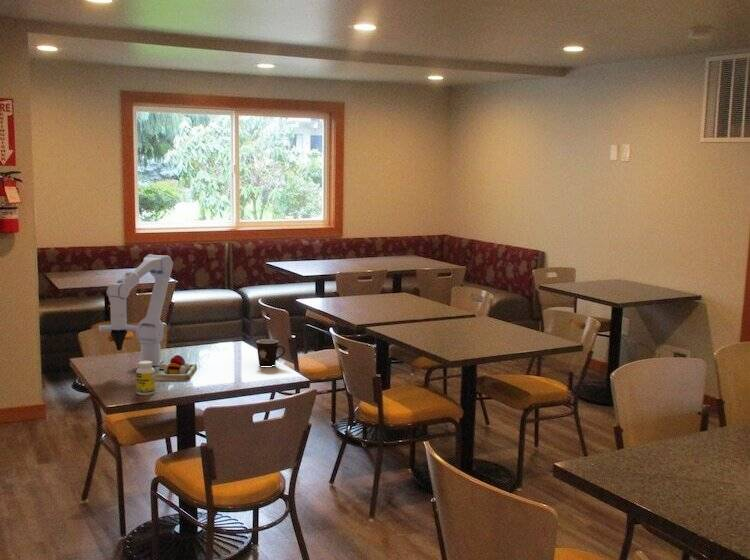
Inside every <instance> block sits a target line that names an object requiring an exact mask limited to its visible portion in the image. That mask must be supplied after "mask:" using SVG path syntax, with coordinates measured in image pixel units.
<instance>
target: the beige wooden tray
mask: <svg viewBox="0 0 750 560" xmlns="http://www.w3.org/2000/svg"><path fill="white" fill-rule="evenodd" d="M188 364H189V365H190V370H189V371H188V372H187V373H186V374H179V373H178V374H165V373H163V374H160V373H157V374H156V373H155V381H182V380H189V381H190V379H191V378H192V377H193V375H194V374H195V372H196V371H197V365H198V364H197V363H188ZM166 365H169V363H161V364H159V366H158V369H159V371H161V370H160V369H164V367H165V366H166ZM191 376H192V377H191Z"/></svg>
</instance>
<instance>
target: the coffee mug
mask: <svg viewBox="0 0 750 560" xmlns="http://www.w3.org/2000/svg"><path fill="white" fill-rule="evenodd" d="M256 347H257V357H258V364H259V365H260V366H272V365H275V366H276V365H277V360H279V358H281V357H283V356H284V355H285V353H286V349H285V347H284V346H282V345H279V340H277V339H270V338H266V339H265V338H264V339H263V338H262V339H258V340H256ZM279 348H281V349H282V350H283V353H282V354H280V355H279V356H278V357H277V354H278V349H279ZM260 366H259V367H260Z"/></svg>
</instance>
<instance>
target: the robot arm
mask: <svg viewBox="0 0 750 560" xmlns="http://www.w3.org/2000/svg"><path fill="white" fill-rule="evenodd" d="M173 266H174V262H173V259H172V258H171V256H170V255H159V254H158V255H157V254H152V253H150V254H147V255H146V256H145V257H143V261H142V262H141V263H140V265H138V266H137V267H135V270H133V271H126V272H125V274H124V275H123V276H122V277H121V278H119V279H117V281H116V282H111V283H110V284H108V286H107V289H106V296H107V297H108V301H109V303H110V304H109V305H110V324H104V325H103V324H100V325H98V332H110V336H111V337H112V339H113V341H114V344H115V347H116V351H122V349H123V345H124V341H125V339H126V335H127V334H128V332H135V336H136V339H137V340H138V342H139V343H140V361H152V367H155V366H156V367H159V364H163V362H164V359H162V357H161V355H162V353H161V350H162V349H161V347H162V346H161V344H160V343H162V340H163V339H164V336H165V332H164V331H165V330H164V329H165V324H164V323H163V321H162V320H161V316H162V312H163V308H164V303H165V300H166V296H167V291H168V286H169V283H170V280H171V279H170V278H171V276H172V271H173ZM148 273H149V274H150V275H151V276H152V277H153V278H154V283H153V288H152V291H151V294H150V300H149V305H148V308H147V313H146V316H145V317H144V318H143V319H141V320H140V321H139V325H137V324H136V325H133V324H132V325H131V324H127V323H128V320H127V318H128V316H127V310H128V309H127V298H128V297H129V296H130V293H131V291H132V290H133V289H134V288H135V287H136V286H137V285H138V284H140V278H142V277H144V276H145V275H146V274H148Z"/></svg>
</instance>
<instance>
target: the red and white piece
mask: <svg viewBox="0 0 750 560" xmlns="http://www.w3.org/2000/svg"><path fill="white" fill-rule="evenodd" d="M168 364H169V365H166V366H165V367H164V370H163V374H187V372H188V371H189V370H190V365H189V364H190V363H188V362H186V360H185V359H184V358H183V356H181V355H179V354H177V355H174V356H173V357H172V358H171V359H170V363H168Z"/></svg>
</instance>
